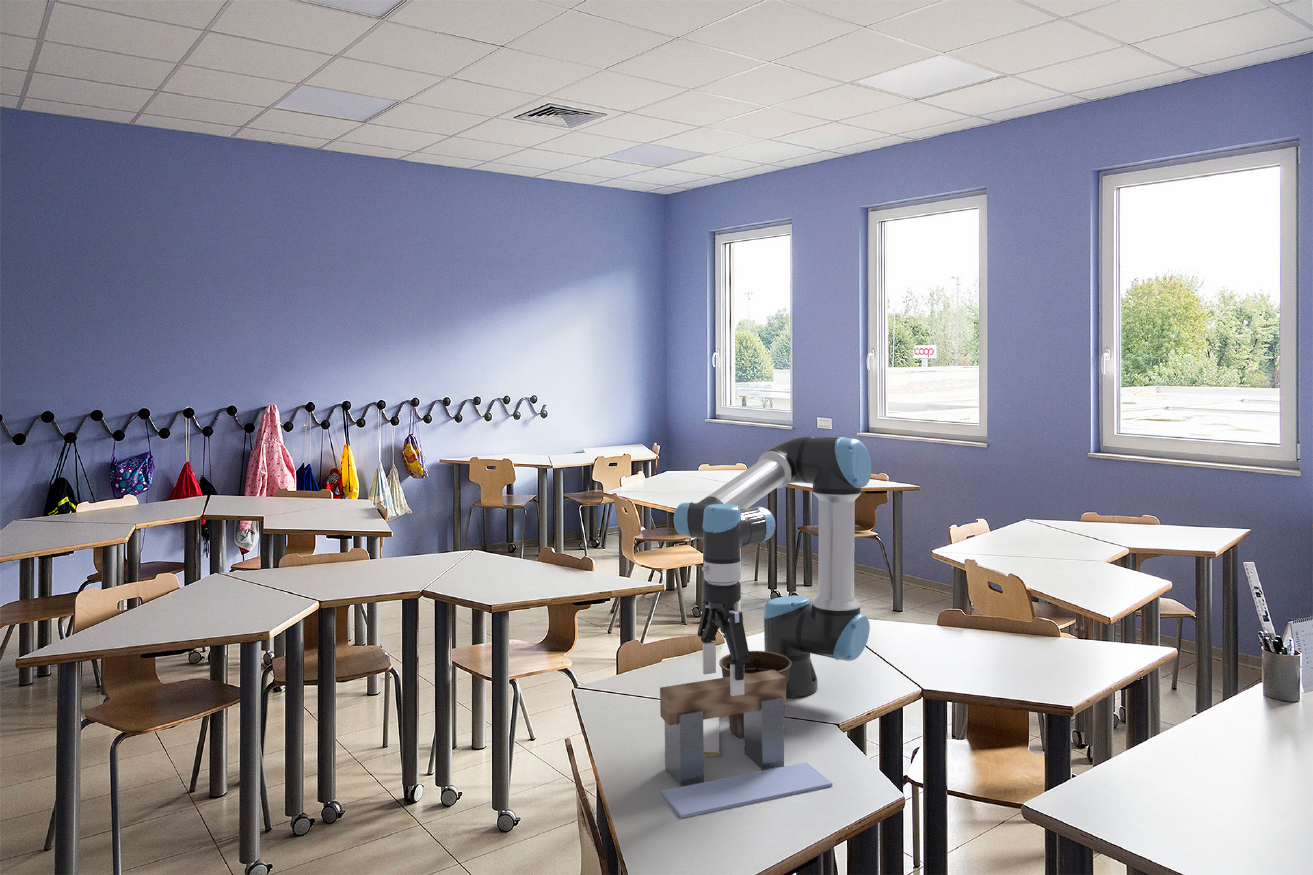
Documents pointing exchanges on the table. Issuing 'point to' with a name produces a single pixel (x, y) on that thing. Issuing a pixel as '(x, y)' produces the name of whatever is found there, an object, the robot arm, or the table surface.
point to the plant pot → (757, 664)
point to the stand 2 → (765, 734)
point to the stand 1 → (685, 748)
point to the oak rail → (720, 696)
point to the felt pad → (744, 789)
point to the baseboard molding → (711, 736)
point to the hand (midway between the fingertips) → (722, 683)
